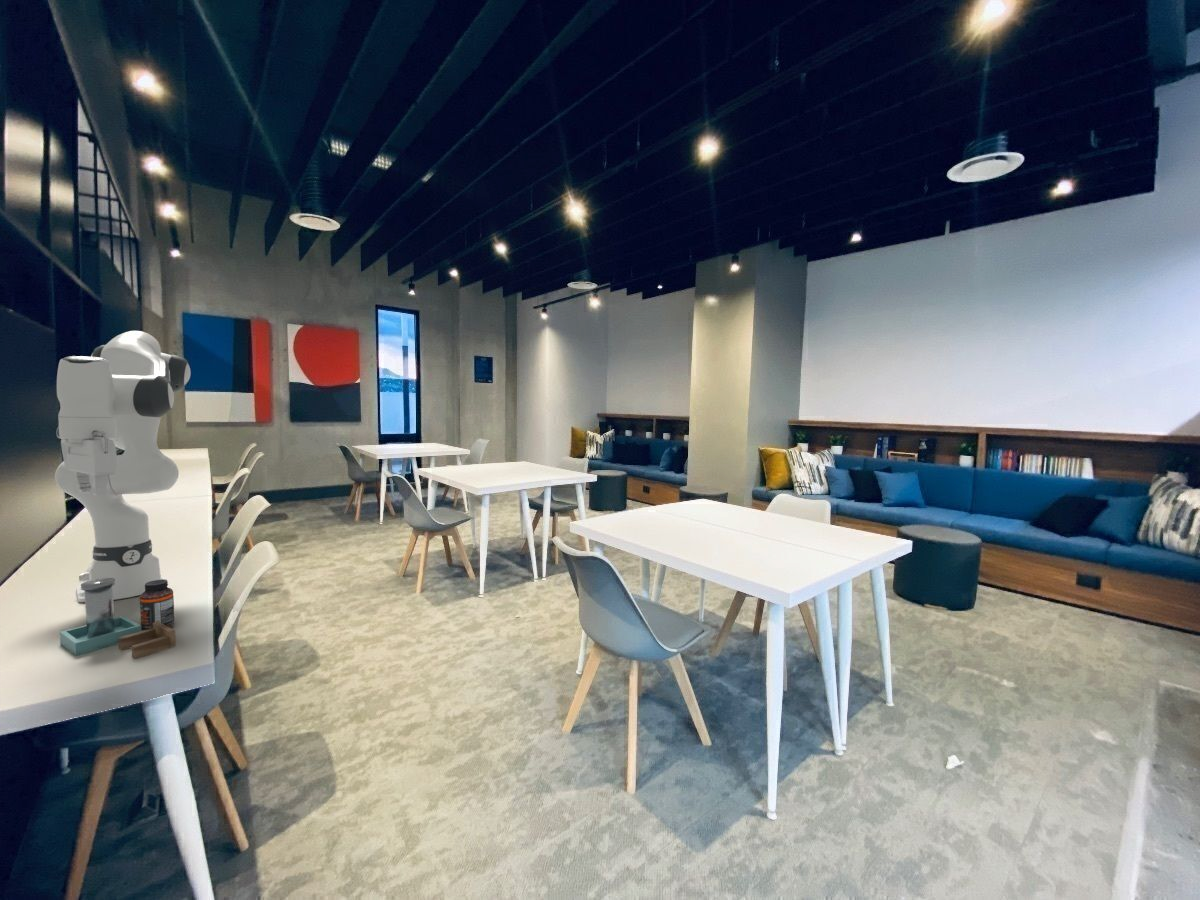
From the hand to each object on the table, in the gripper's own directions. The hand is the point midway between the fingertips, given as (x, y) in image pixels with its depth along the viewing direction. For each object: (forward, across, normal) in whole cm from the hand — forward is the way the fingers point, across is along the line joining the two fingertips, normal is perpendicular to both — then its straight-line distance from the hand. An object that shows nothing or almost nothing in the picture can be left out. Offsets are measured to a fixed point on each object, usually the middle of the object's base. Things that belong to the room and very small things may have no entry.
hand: (92, 493), depth 110 cm
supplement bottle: (+33, -4, -9) cm, 35 cm away
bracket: (+33, -14, -3) cm, 36 cm away
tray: (+33, -1, 0) cm, 33 cm away
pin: (+32, -1, 0) cm, 32 cm away
